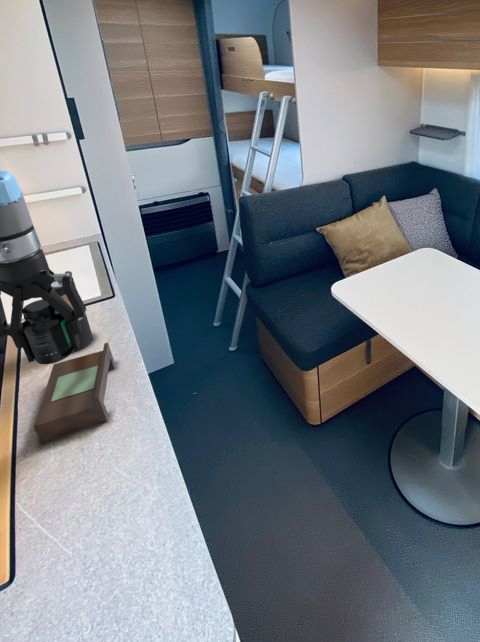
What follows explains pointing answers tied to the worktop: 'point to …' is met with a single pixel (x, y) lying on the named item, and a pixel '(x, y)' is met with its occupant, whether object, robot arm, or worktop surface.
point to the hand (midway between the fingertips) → (55, 351)
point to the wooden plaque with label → (74, 396)
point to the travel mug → (85, 330)
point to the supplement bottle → (46, 333)
